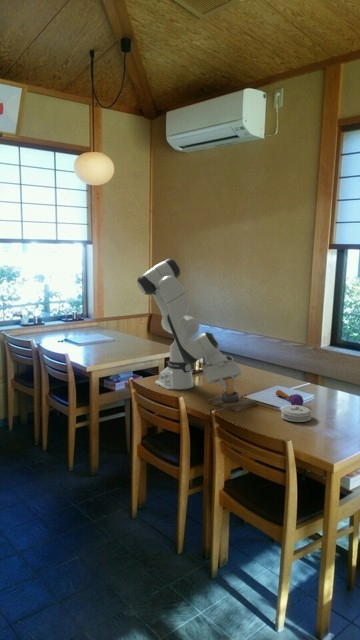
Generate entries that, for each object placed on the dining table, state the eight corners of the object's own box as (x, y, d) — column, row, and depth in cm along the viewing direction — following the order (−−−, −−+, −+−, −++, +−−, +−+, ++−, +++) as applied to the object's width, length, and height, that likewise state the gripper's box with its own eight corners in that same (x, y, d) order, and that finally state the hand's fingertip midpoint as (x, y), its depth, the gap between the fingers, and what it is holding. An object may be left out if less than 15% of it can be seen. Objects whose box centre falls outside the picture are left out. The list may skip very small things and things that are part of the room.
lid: (275, 418, 200) (275, 407, 200) (293, 411, 208) (293, 401, 207) (299, 426, 191) (299, 414, 190) (317, 419, 198) (317, 408, 198)
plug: (223, 395, 219) (223, 379, 218) (229, 393, 222) (229, 377, 221) (229, 397, 216) (230, 380, 215) (235, 395, 219) (235, 379, 218)
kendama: (284, 387, 232) (306, 396, 212) (283, 399, 232) (304, 409, 212) (274, 386, 230) (295, 395, 211) (272, 398, 230) (293, 408, 211)
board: (208, 402, 221) (208, 399, 221) (227, 396, 230) (227, 393, 230) (237, 412, 208) (237, 408, 208) (256, 404, 217) (256, 401, 217)
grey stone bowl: (219, 400, 220) (219, 393, 219) (229, 396, 225) (229, 389, 224) (231, 404, 214) (231, 396, 214) (241, 400, 219) (241, 393, 219)
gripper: (203, 362, 216) (217, 387, 209) (234, 356, 228) (248, 379, 222) (197, 369, 220) (211, 394, 213) (228, 363, 232) (241, 386, 226)
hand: (230, 386), depth 218 cm, fingers closed on plug, 4 cm apart
